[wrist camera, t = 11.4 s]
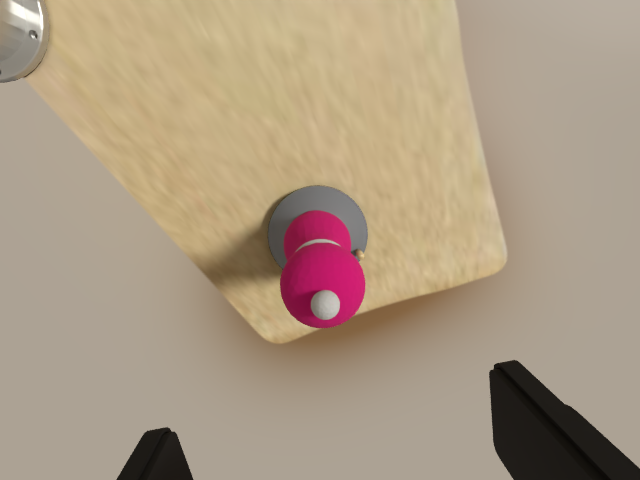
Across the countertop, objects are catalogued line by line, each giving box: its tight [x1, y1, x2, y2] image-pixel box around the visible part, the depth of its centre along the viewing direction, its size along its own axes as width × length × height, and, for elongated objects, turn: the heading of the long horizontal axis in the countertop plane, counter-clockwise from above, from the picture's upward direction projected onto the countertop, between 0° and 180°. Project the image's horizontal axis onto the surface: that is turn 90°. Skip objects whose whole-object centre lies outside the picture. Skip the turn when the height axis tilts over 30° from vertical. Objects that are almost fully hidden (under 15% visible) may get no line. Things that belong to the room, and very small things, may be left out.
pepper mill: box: [280, 210, 365, 328], centre depth 28 cm, size 7×7×20 cm
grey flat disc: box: [268, 185, 368, 269], centre depth 37 cm, size 12×12×3 cm
